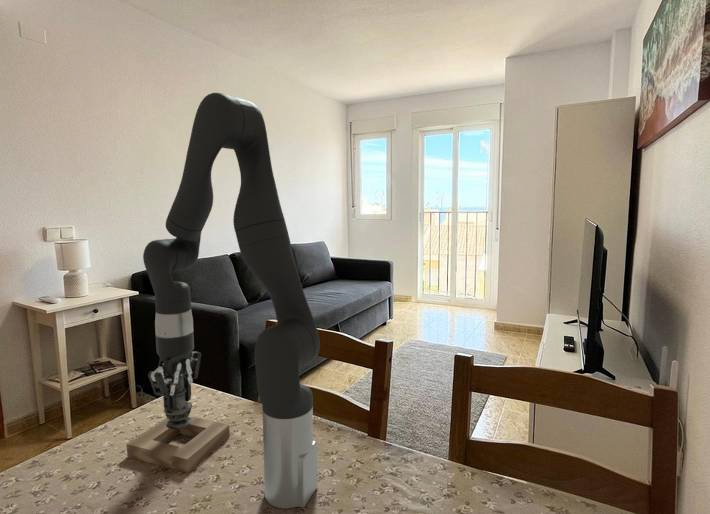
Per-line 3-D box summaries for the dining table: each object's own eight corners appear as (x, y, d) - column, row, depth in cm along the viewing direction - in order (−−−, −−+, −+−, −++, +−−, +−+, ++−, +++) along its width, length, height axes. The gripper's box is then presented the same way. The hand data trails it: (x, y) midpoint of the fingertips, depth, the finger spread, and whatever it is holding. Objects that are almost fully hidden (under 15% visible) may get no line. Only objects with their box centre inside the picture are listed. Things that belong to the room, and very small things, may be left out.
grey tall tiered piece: (197, 416, 95) (195, 367, 94) (184, 430, 90) (182, 378, 88) (173, 415, 96) (170, 365, 94) (159, 429, 90) (156, 376, 89)
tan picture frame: (229, 436, 98) (229, 424, 97) (187, 473, 84) (187, 459, 84) (174, 424, 103) (174, 412, 102) (127, 456, 90) (126, 443, 89)
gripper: (163, 343, 82) (167, 424, 84) (210, 323, 95) (213, 393, 98) (134, 338, 84) (139, 417, 87) (184, 320, 98) (187, 388, 100)
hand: (178, 404), depth 92 cm, fingers closed on grey tall tiered piece, 4 cm apart
